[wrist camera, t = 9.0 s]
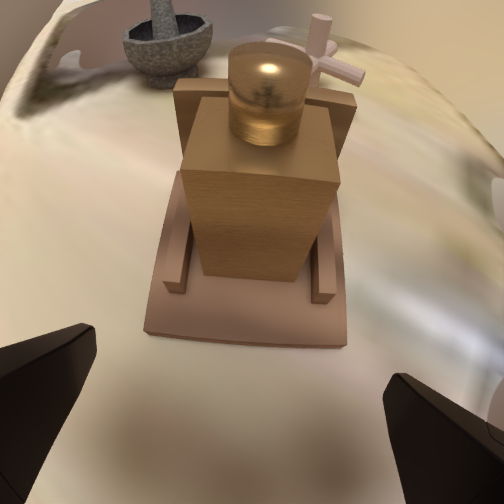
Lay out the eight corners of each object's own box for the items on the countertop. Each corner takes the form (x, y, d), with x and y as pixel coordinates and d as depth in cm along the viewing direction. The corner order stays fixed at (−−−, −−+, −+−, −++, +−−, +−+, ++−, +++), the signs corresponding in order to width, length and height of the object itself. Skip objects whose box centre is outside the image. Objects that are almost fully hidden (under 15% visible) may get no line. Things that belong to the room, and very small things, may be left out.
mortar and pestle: (221, 87, 29) (220, -13, 19) (135, 107, 28) (113, 6, 17) (199, 49, 34) (197, -28, 23) (131, 64, 32) (117, -13, 21)
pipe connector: (332, 143, 26) (362, 50, 17) (240, 104, 28) (243, 15, 19) (361, 98, 30) (385, 26, 21) (284, 68, 32) (294, -4, 23)
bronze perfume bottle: (294, 282, 19) (368, 117, 7) (203, 275, 18) (167, 98, 7) (294, 221, 20) (343, 51, 9) (212, 214, 20) (198, 37, 9)
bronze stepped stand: (340, 348, 18) (433, 296, 9) (148, 334, 18) (70, 269, 9) (331, 192, 23) (373, 86, 14) (179, 180, 23) (158, 68, 14)
